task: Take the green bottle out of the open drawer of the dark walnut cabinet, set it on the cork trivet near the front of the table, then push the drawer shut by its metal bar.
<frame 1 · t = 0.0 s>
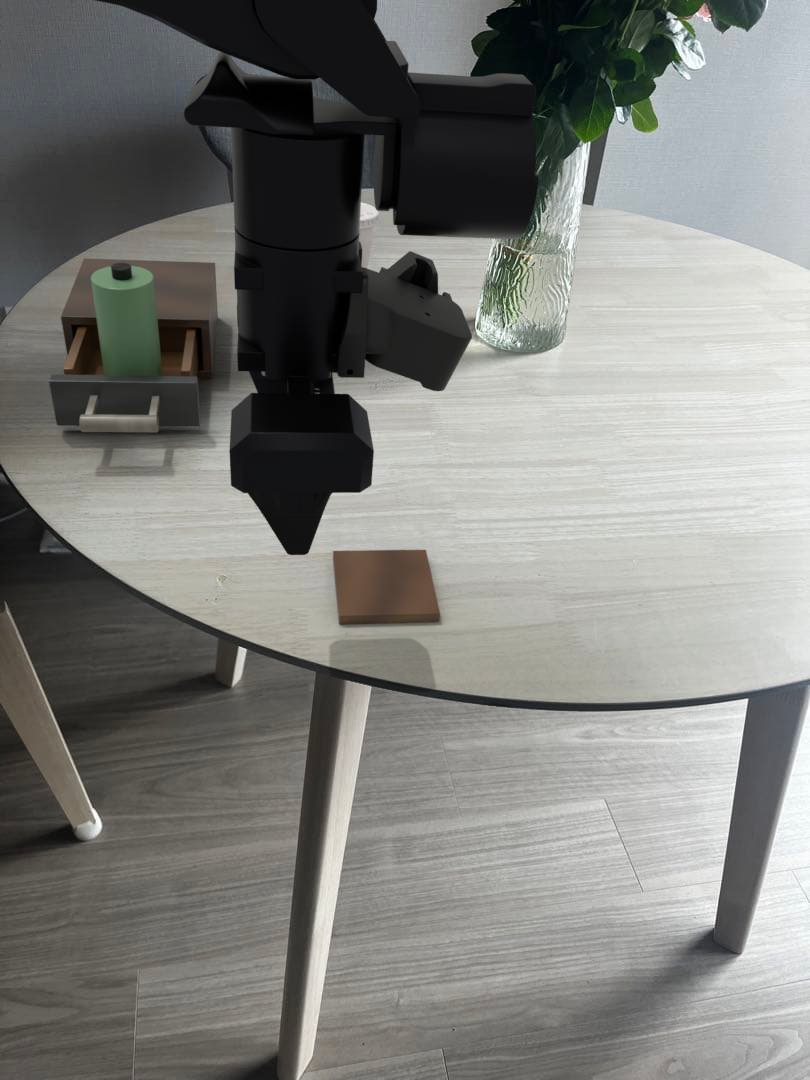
hand: (295, 501, 51), 13 cm above the table, tool pointing down, fingers open, 9 cm apart
green bottle: (134, 383, 81), point 2 cm above the table, touching drawer
drawer: (131, 381, 79), point 3 cm above the table, slide at 9.0 cm, touching green bottle
trivet: (384, 589, 65), on the table
cabinet: (149, 345, 91), on the table
smoothie: (346, 295, 105), on the table
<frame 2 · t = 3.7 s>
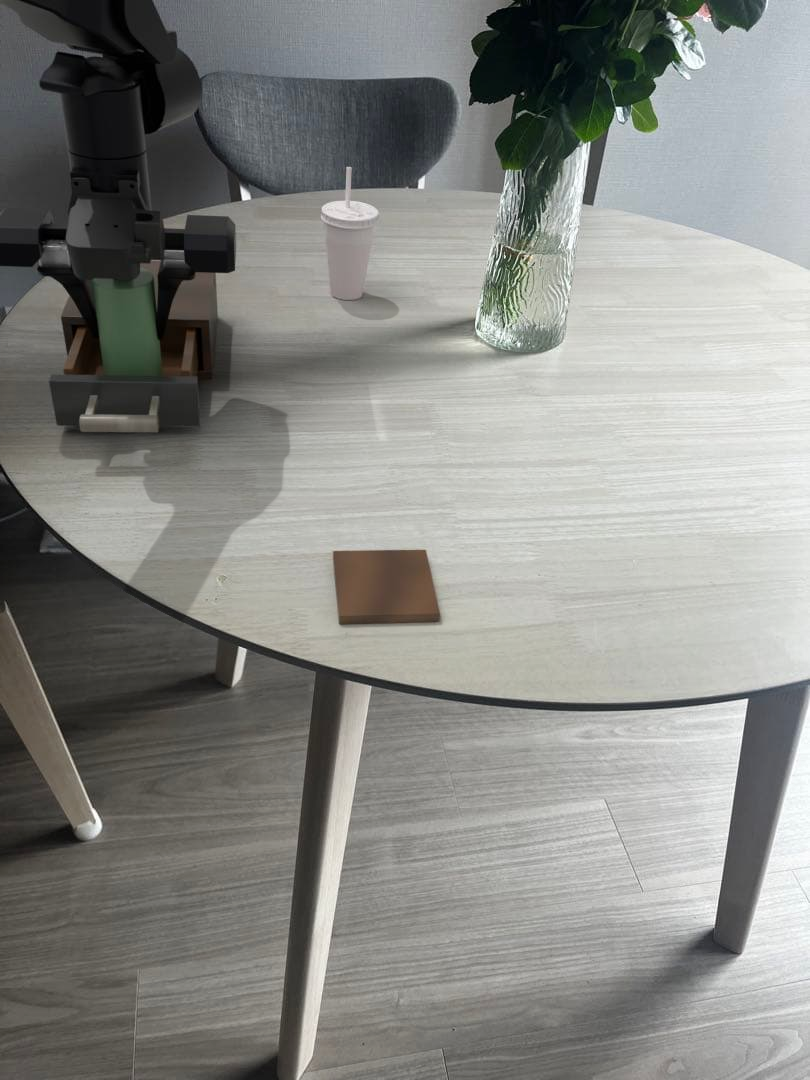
hand: (129, 337, 78), 7 cm above the table, tool pointing down, fingers closed on green bottle, 5 cm apart
green bottle: (134, 383, 81), point 2 cm above the table, touching drawer, gripper
everything else where it was.
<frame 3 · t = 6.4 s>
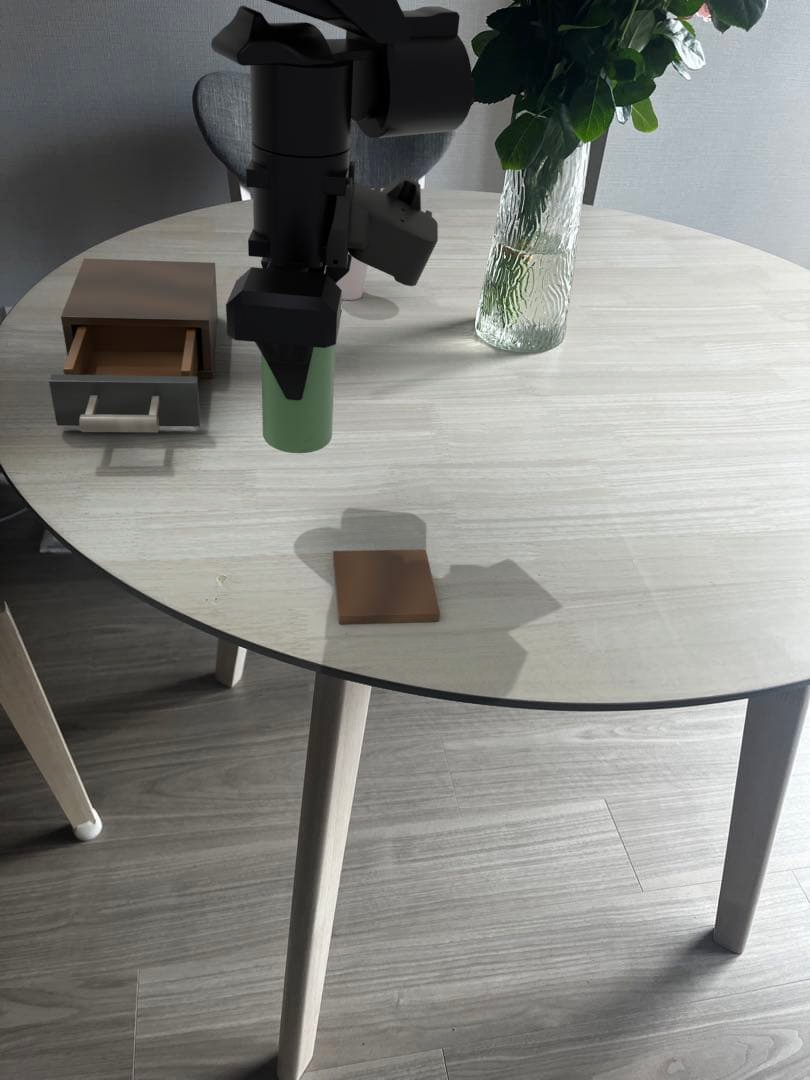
hand: (298, 380, 62), 13 cm above the table, tool pointing down, fingers closed on green bottle, 5 cm apart
green bottle: (297, 434, 65), point 8 cm above the table, touching gripper
drawer: (131, 381, 79), point 3 cm above the table, slide at 9.0 cm
everything else where it was.
when the fingers open (5 cm above the table, at t = 9.3 s): green bottle stays where it is, resting on trivet.
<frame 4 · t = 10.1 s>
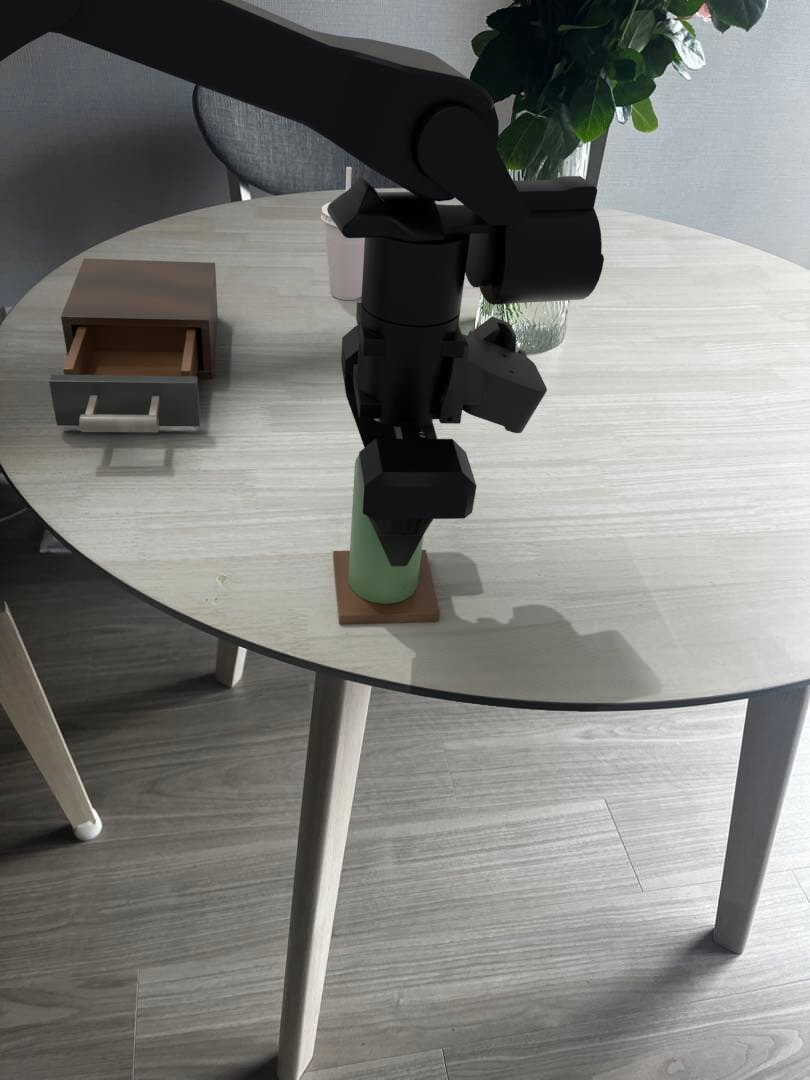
hand: (390, 520, 61), 6 cm above the table, tool pointing down, fingers open, 9 cm apart
green bottle: (383, 580, 64), point 1 cm above the table, touching trivet
everything else where it was.
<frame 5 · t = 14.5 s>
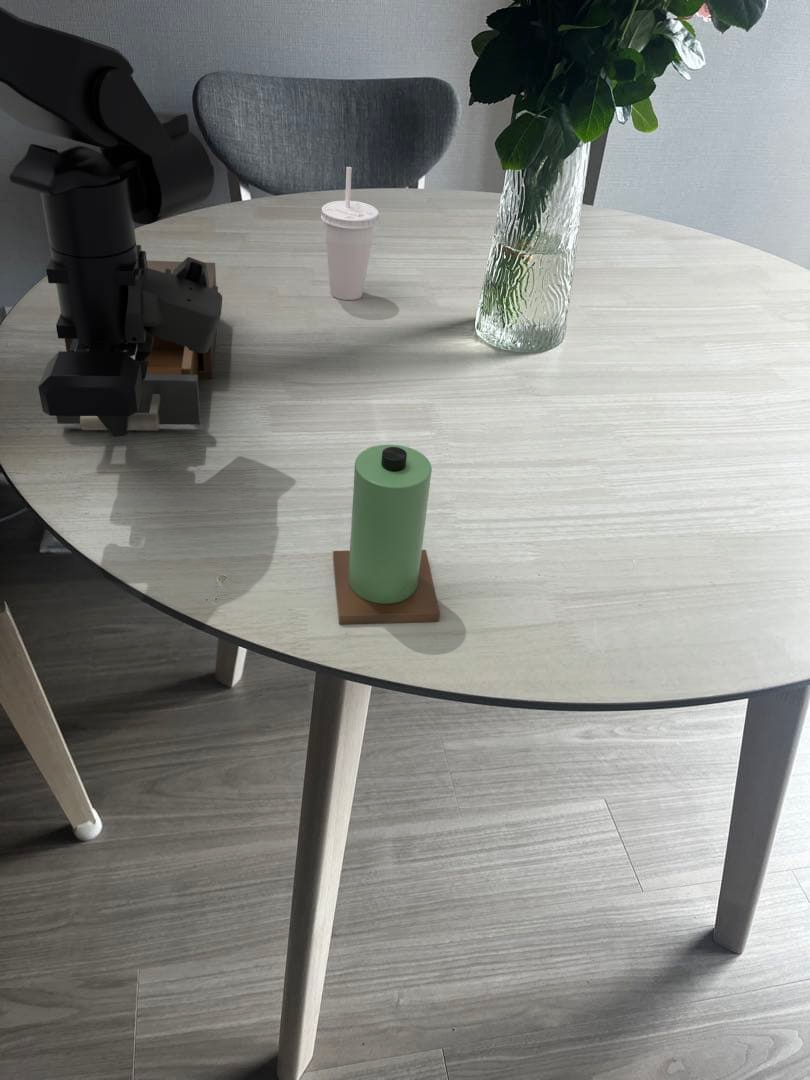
hand: (119, 434, 72), 3 cm above the table, tool pointing down, fingers closed
drawer: (131, 380, 79), point 3 cm above the table, slide at 8.7 cm, touching gripper
everything else where it was.
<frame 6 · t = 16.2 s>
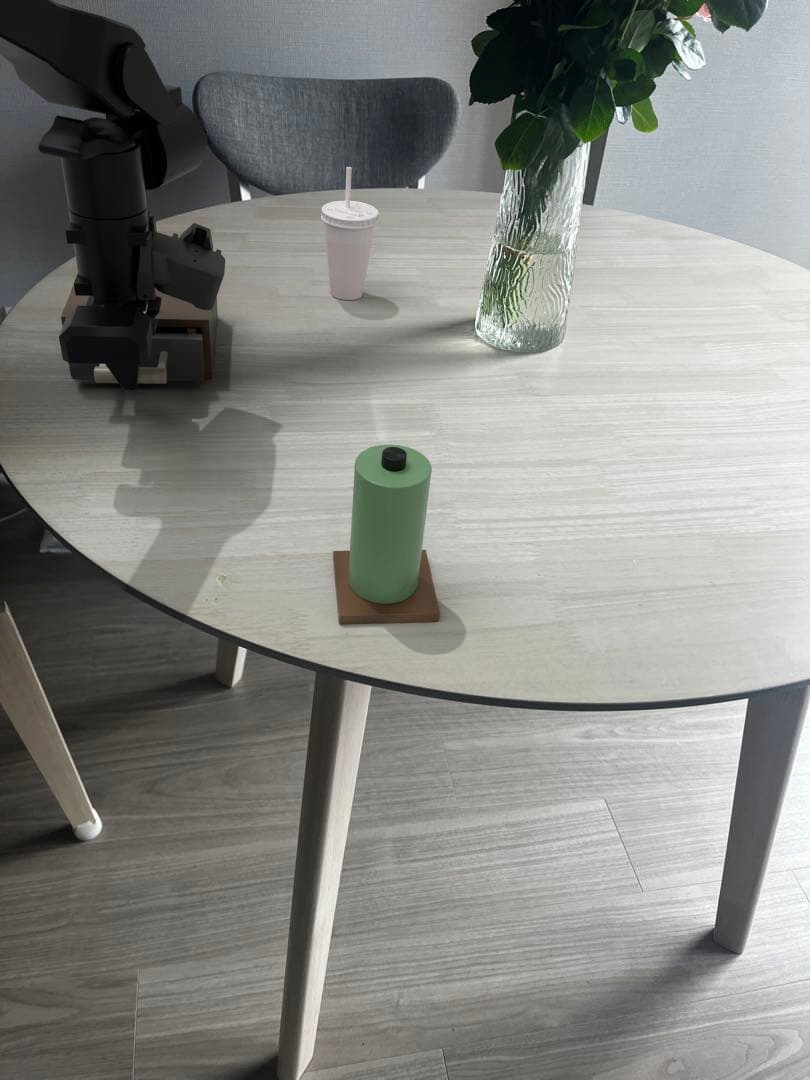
hand: (130, 388, 78), 3 cm above the table, tool pointing down, fingers closed
drawer: (141, 340, 85), point 3 cm above the table, slide at 1.0 cm, touching gripper
everything else where it was.
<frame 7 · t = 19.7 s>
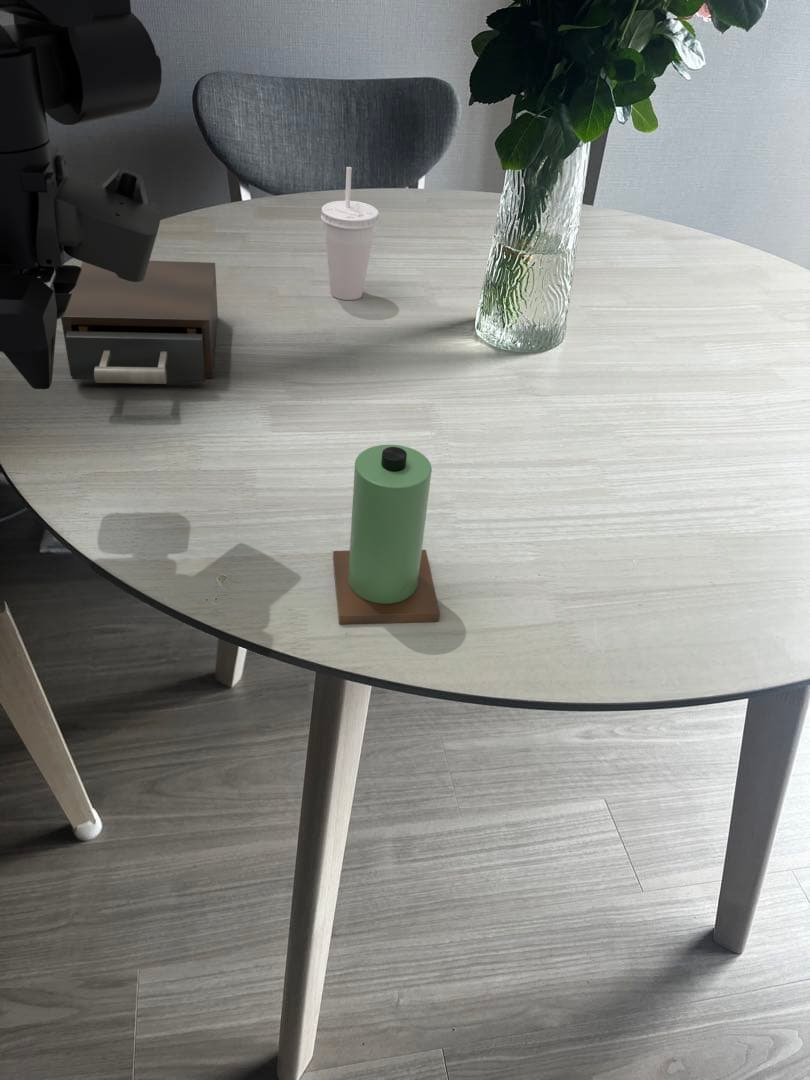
hand: (42, 386, 60), 12 cm above the table, tool pointing down, fingers closed
drawer: (141, 340, 85), point 3 cm above the table, slide at 1.0 cm
everything else where it was.
at the end: green bottle 0.1 cm off-centre on the trivet, point 0.8 cm above the trivet's base; green bottle tilted 0°; drawer slide at 1.0 cm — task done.
